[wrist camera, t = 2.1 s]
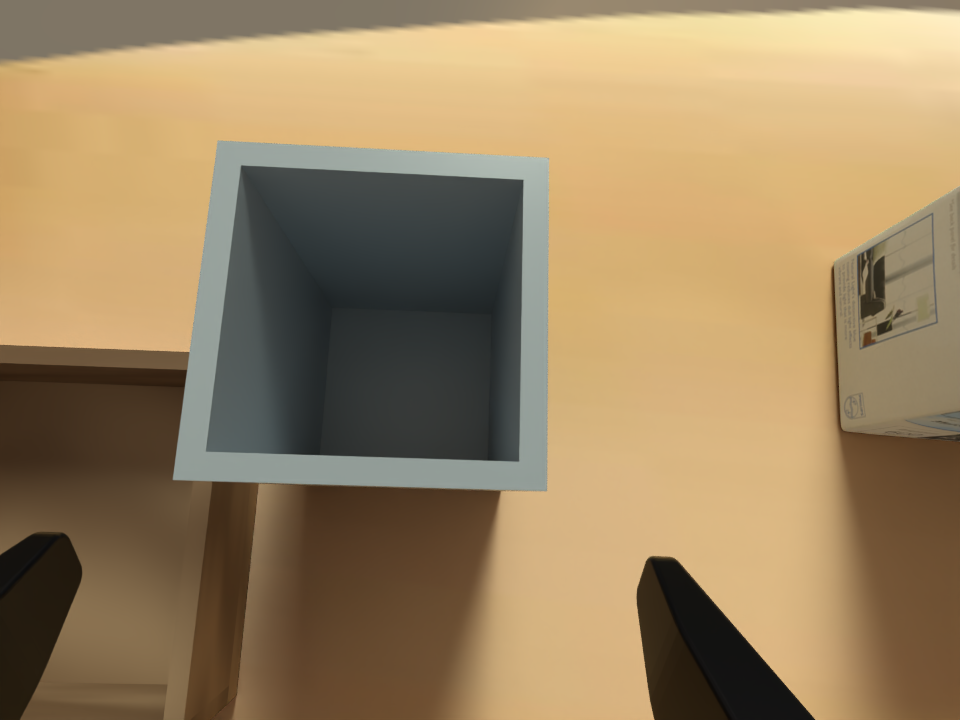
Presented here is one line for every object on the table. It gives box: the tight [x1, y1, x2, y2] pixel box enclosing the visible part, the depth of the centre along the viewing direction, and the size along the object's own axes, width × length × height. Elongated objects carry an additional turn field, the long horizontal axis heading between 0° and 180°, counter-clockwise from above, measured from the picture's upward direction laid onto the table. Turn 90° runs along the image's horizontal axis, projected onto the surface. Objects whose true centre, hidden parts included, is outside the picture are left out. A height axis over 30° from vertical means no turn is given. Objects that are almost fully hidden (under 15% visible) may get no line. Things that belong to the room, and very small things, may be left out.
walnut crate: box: [0, 345, 258, 720], centre depth 18 cm, size 10×10×4 cm
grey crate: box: [173, 141, 549, 491], centre depth 16 cm, size 6×6×10 cm
